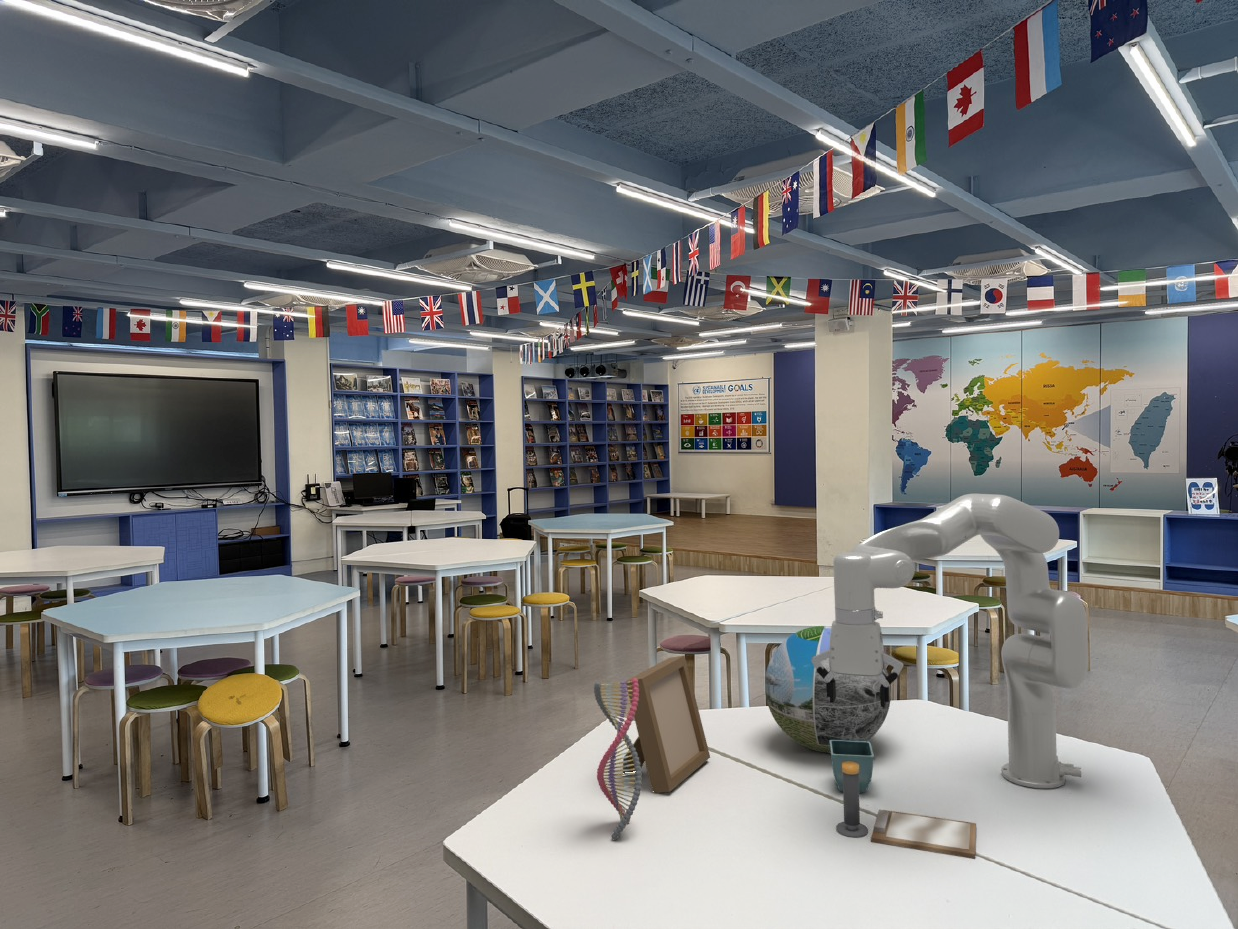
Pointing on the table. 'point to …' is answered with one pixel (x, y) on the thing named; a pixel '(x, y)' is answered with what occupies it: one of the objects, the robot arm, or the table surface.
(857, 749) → the flower pot
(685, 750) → the photo frame
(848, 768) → the marker
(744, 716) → the table surface
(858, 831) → the dark grey disc
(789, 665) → the photo collage ball
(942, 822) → the clipboard
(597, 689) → the dna model
